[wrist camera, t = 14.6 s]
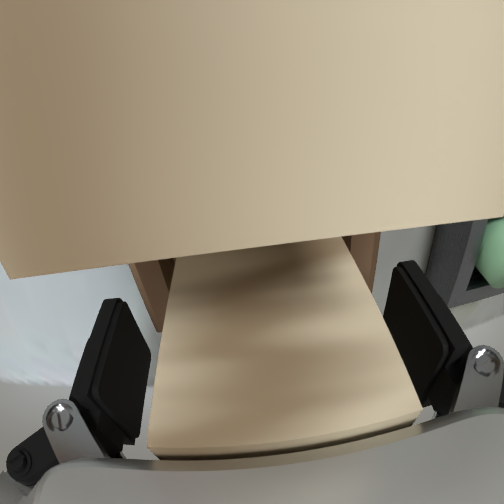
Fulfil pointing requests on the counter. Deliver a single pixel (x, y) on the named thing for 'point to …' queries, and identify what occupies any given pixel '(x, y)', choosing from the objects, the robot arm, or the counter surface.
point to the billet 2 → (274, 356)
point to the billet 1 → (241, 124)
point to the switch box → (459, 263)
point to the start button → (492, 253)
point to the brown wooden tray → (161, 271)
